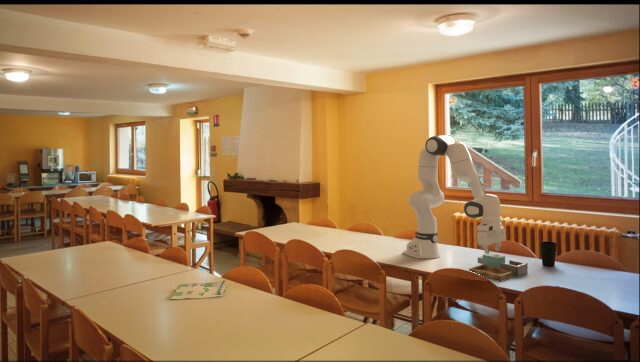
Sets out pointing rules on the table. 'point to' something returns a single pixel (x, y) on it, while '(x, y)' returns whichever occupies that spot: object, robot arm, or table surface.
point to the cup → (548, 253)
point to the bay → (515, 267)
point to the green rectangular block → (491, 260)
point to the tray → (492, 272)
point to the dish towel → (219, 285)
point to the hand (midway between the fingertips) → (492, 251)
